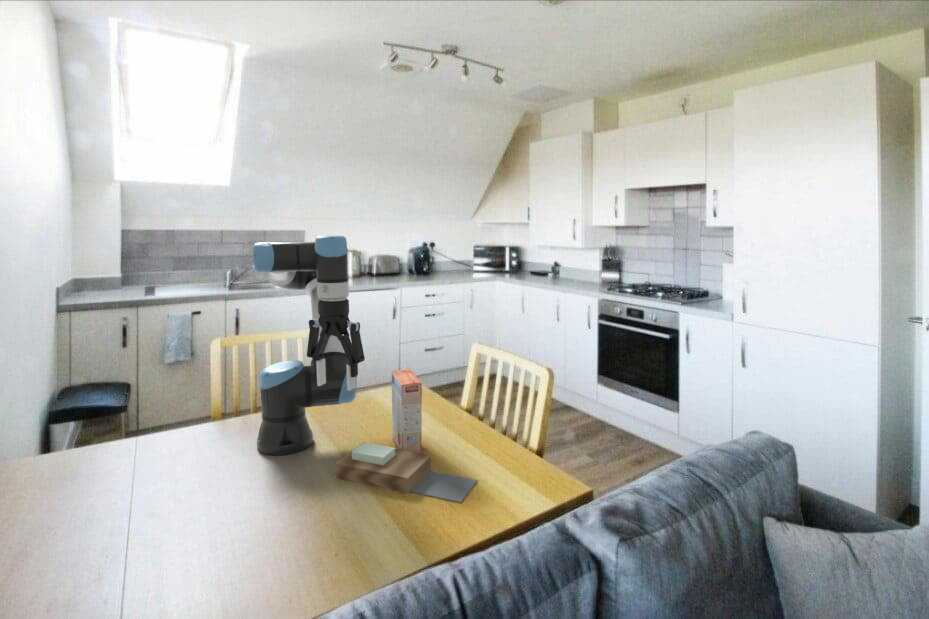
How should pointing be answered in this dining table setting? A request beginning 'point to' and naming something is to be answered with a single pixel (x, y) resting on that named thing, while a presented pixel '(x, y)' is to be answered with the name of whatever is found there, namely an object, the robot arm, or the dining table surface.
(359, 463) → the wooden block
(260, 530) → the dining table surface
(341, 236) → the robot arm
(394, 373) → the cracker box
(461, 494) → the mat
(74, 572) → the dining table surface
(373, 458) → the pale green eraser
